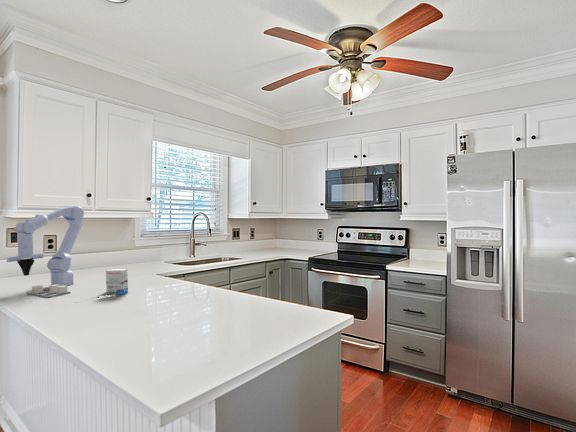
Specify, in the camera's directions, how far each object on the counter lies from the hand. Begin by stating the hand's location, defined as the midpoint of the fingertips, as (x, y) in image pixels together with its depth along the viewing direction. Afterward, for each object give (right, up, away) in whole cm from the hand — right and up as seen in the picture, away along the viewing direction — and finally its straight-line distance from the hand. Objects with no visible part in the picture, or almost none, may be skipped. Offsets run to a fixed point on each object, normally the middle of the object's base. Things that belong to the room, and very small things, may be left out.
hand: (26, 275), depth 165 cm
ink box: (+42, -10, +3) cm, 43 cm away
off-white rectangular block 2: (+19, -8, -2) cm, 21 cm away
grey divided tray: (+12, -10, -2) cm, 16 cm away
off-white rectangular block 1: (+6, -9, -1) cm, 10 cm away
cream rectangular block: (+13, -8, +1) cm, 16 cm away
